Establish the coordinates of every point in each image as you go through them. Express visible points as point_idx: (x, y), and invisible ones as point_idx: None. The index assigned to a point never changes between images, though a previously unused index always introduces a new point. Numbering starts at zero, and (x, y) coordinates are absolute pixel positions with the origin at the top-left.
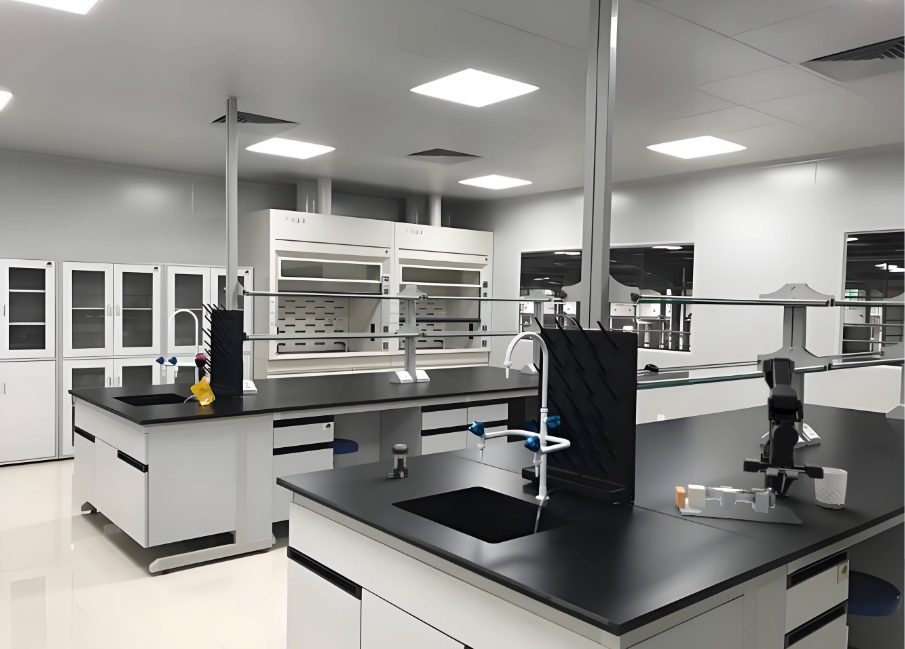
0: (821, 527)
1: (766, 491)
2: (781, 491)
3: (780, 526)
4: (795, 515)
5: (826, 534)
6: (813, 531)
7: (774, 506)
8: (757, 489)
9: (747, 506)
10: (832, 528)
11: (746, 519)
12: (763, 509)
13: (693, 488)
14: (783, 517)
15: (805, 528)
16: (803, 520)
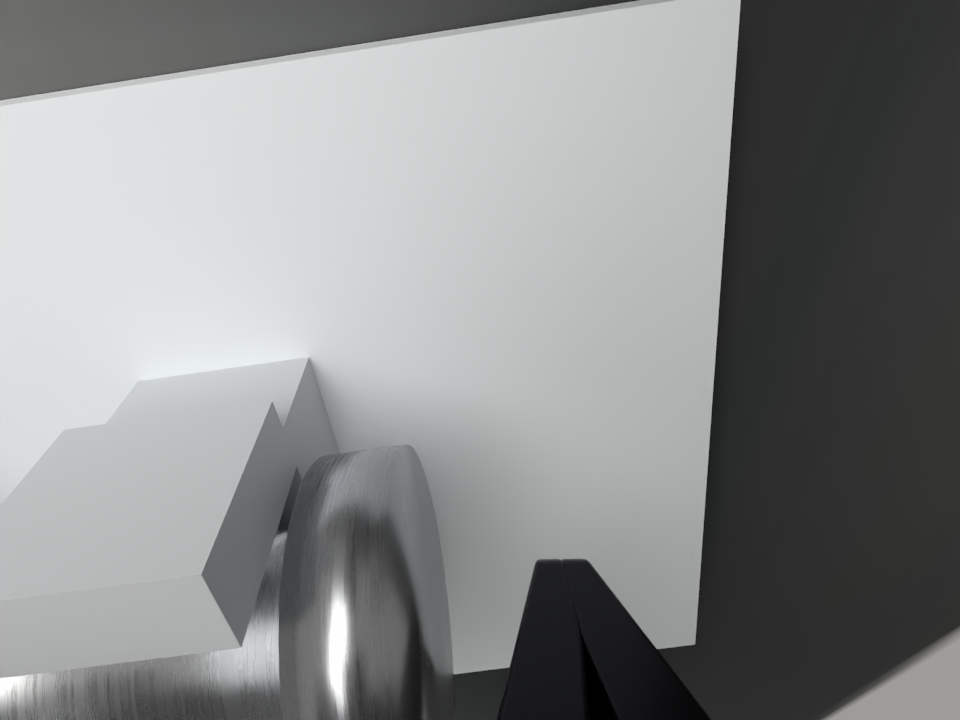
0: (846, 597)
1: (285, 601)
2: (599, 696)
3: (480, 689)
4: (731, 304)
5: (799, 717)
6: (723, 697)
7: (446, 593)
8: (72, 647)
9: (32, 93)
10: (941, 586)
11: None
12: None
13: None
14: None
15: (682, 663)
16: (756, 466)
